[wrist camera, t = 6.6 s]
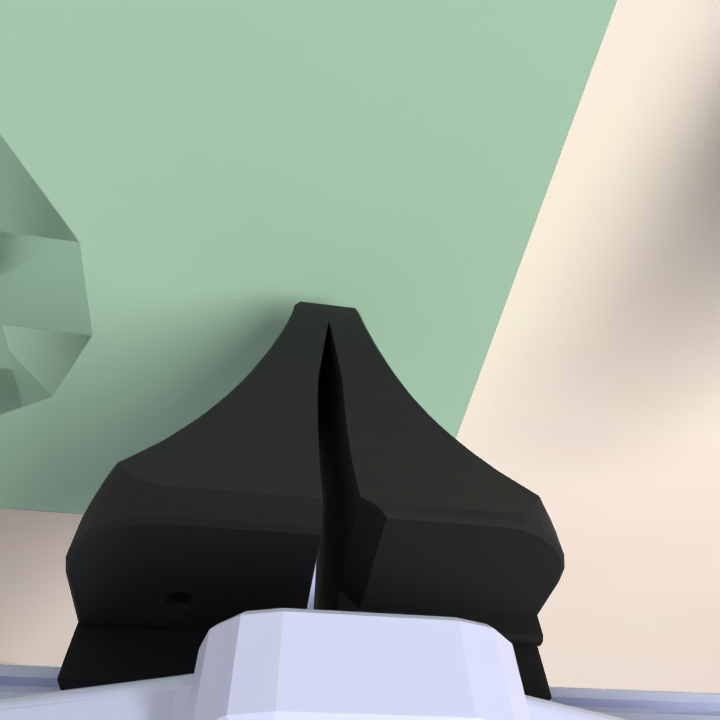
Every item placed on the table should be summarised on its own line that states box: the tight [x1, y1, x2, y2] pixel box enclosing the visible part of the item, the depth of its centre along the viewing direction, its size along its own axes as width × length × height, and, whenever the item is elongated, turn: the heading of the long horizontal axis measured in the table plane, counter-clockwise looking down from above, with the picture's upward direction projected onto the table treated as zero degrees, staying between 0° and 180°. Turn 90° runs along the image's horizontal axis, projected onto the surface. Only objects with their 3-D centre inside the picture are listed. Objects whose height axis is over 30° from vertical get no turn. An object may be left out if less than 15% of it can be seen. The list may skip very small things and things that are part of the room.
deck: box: [0, 0, 617, 514], centre depth 13 cm, size 18×20×2 cm
